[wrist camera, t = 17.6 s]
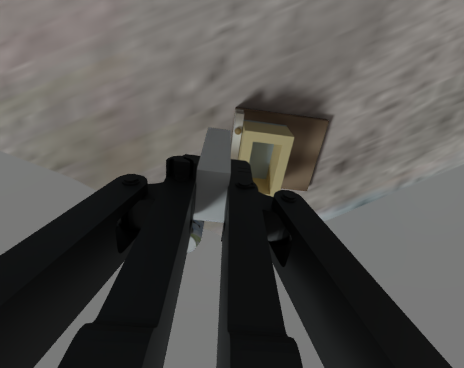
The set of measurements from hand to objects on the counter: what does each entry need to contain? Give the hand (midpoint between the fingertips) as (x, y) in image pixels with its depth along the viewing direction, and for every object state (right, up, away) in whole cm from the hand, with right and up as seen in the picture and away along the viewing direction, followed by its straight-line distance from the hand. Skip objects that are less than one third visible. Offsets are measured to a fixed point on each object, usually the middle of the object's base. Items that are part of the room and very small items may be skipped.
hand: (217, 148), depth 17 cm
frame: (+5, +3, +25) cm, 26 cm away
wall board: (+8, +3, +26) cm, 28 cm away
